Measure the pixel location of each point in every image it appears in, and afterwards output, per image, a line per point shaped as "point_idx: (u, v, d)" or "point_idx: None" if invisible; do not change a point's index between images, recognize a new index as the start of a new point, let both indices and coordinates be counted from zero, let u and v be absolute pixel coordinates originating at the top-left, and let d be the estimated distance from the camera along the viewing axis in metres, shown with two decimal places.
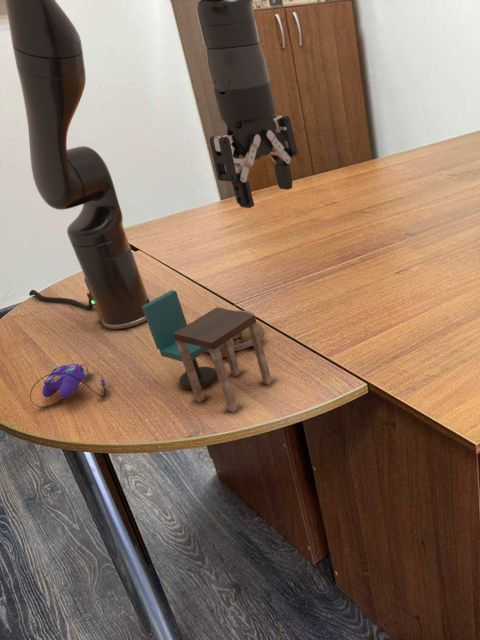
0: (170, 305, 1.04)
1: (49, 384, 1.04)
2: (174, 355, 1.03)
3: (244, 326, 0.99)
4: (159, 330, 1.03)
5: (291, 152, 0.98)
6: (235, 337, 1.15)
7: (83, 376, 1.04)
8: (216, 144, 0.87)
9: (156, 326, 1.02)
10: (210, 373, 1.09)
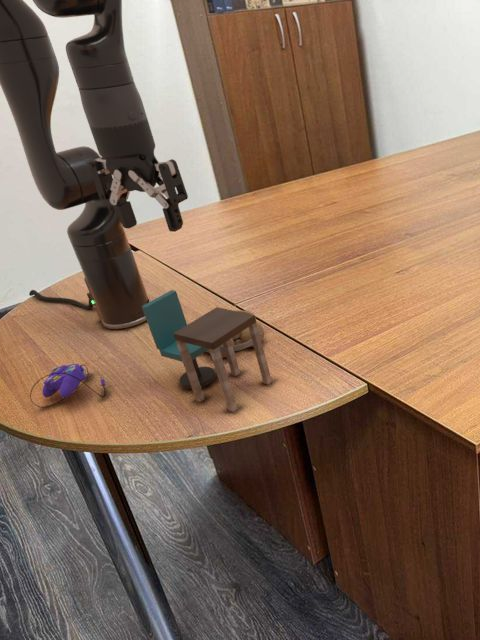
0: (170, 305, 1.04)
1: (49, 384, 1.04)
2: (174, 355, 1.03)
3: (244, 326, 0.99)
4: (159, 330, 1.03)
5: (170, 199, 0.95)
6: (235, 337, 1.15)
7: (83, 376, 1.04)
8: None
9: (156, 326, 1.02)
10: (210, 373, 1.09)
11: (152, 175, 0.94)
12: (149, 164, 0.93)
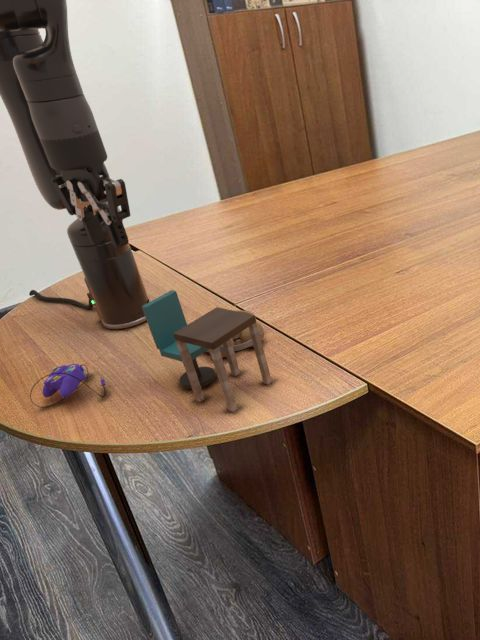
0: (170, 305, 1.04)
1: (49, 384, 1.04)
2: (174, 355, 1.03)
3: (244, 326, 0.99)
4: (159, 330, 1.03)
5: (111, 216, 0.96)
6: (235, 337, 1.15)
7: (83, 376, 1.04)
8: None
9: (156, 326, 1.02)
10: (210, 373, 1.09)
11: (100, 187, 0.94)
12: (97, 178, 0.93)
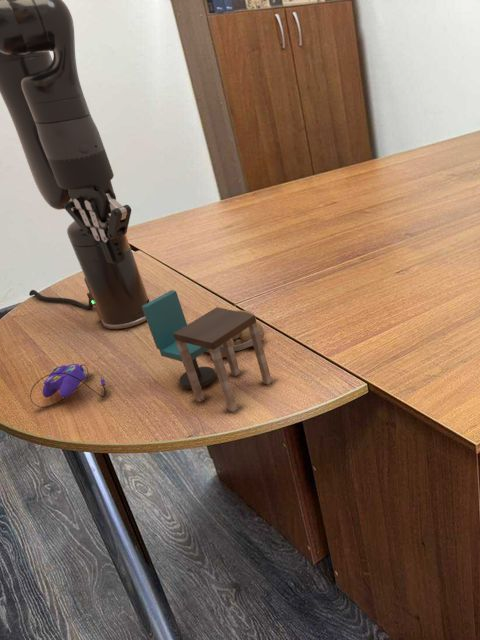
0: (170, 305, 1.04)
1: (49, 384, 1.04)
2: (174, 355, 1.03)
3: (244, 326, 0.99)
4: (159, 330, 1.03)
5: (108, 234, 0.98)
6: (235, 337, 1.15)
7: (83, 376, 1.04)
8: None
9: (156, 326, 1.02)
10: (210, 373, 1.09)
11: (106, 205, 0.96)
12: (105, 200, 0.95)
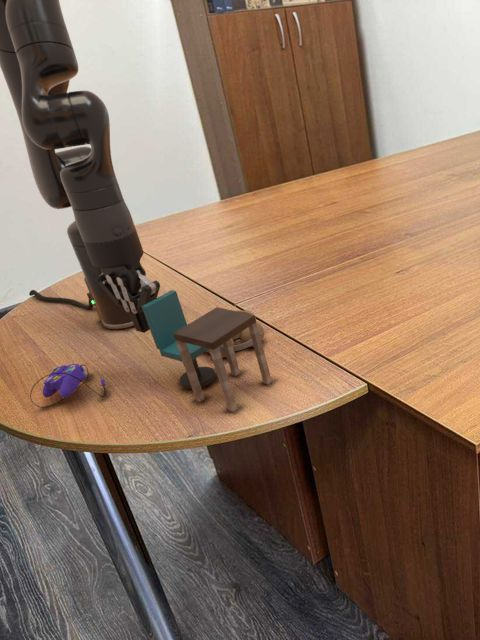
0: (170, 305, 1.04)
1: (49, 384, 1.04)
2: (174, 355, 1.03)
3: (244, 326, 0.99)
4: (159, 330, 1.03)
5: (137, 307, 1.04)
6: (235, 337, 1.15)
7: (83, 376, 1.04)
8: None
9: (156, 326, 1.02)
10: (210, 373, 1.09)
11: (137, 282, 1.01)
12: (136, 277, 1.01)
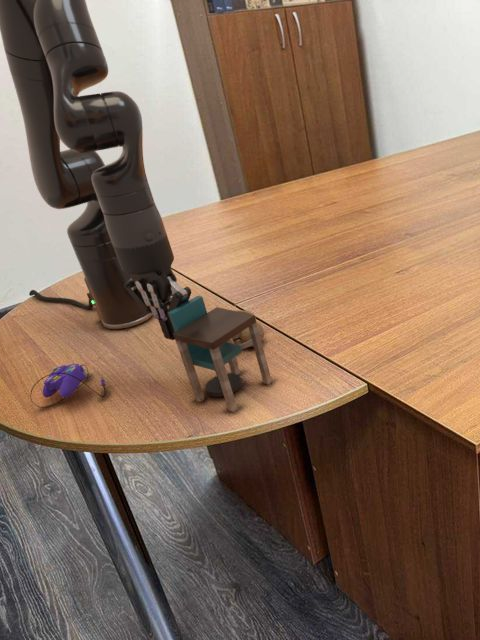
0: (196, 311, 1.01)
1: (49, 384, 1.04)
2: (201, 362, 1.00)
3: (244, 326, 0.99)
4: None
5: (167, 314, 1.01)
6: (235, 337, 1.15)
7: (83, 376, 1.04)
8: None
9: None
10: (236, 380, 1.06)
11: (168, 288, 0.99)
12: (167, 283, 0.98)
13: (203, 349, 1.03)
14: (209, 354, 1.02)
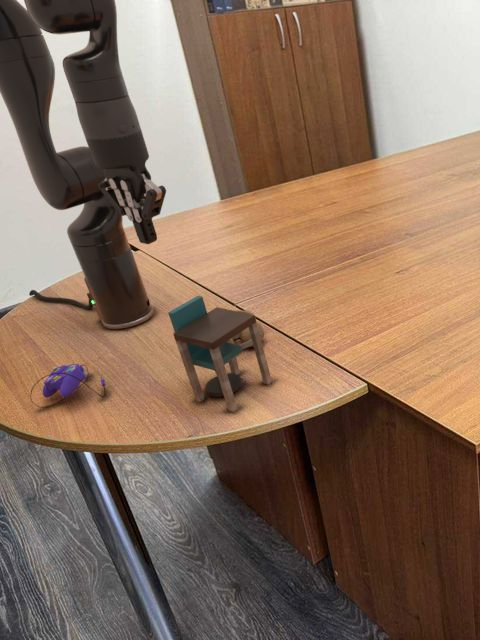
0: (196, 311, 1.01)
1: (49, 384, 1.04)
2: (201, 362, 1.00)
3: (244, 326, 0.99)
4: None
5: (142, 214, 0.99)
6: (235, 337, 1.15)
7: (83, 376, 1.04)
8: None
9: None
10: (236, 380, 1.06)
11: (142, 186, 0.97)
12: (141, 180, 0.96)
13: (203, 349, 1.03)
14: (209, 354, 1.02)
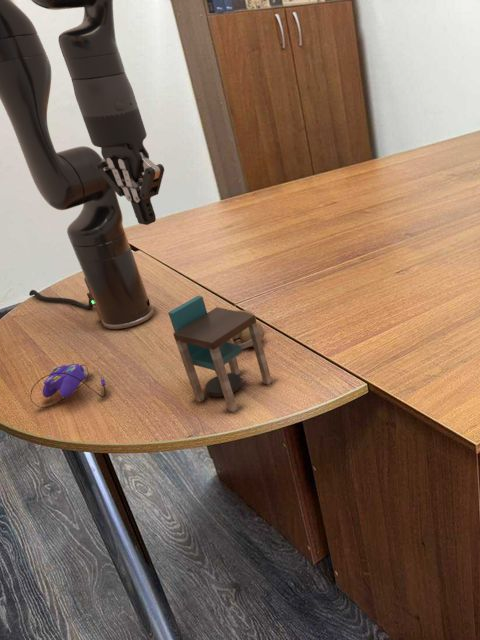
0: (196, 311, 1.01)
1: (49, 384, 1.04)
2: (201, 362, 1.00)
3: (244, 326, 0.99)
4: None
5: (140, 194, 0.99)
6: (235, 337, 1.15)
7: (83, 376, 1.04)
8: None
9: None
10: (236, 380, 1.06)
11: (140, 164, 0.96)
12: (138, 158, 0.95)
13: (203, 349, 1.03)
14: (209, 354, 1.02)
